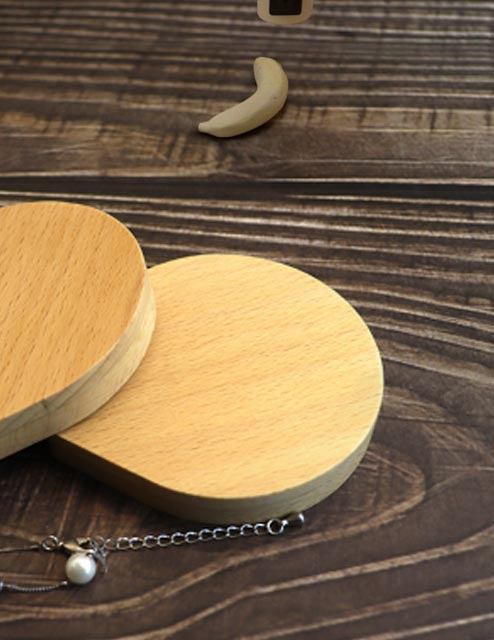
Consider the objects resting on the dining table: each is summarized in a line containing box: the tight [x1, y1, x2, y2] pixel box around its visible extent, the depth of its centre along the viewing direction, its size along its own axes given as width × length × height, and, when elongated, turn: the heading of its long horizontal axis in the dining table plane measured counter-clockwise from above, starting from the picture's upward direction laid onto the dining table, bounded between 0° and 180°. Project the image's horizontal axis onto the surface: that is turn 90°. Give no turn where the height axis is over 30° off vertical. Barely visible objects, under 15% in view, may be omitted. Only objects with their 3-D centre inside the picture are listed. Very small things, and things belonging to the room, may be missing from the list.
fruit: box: [198, 56, 289, 138], centre depth 119 cm, size 7×15×3 cm, turn 147°
